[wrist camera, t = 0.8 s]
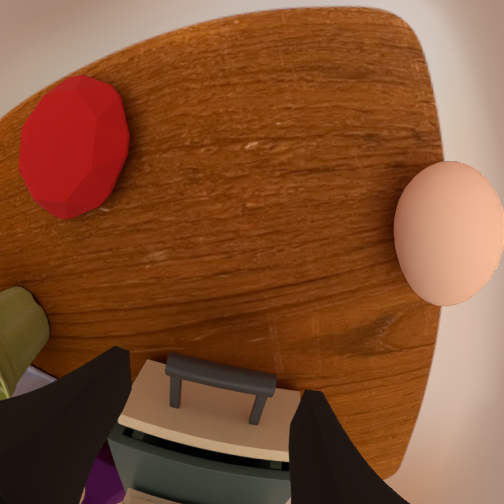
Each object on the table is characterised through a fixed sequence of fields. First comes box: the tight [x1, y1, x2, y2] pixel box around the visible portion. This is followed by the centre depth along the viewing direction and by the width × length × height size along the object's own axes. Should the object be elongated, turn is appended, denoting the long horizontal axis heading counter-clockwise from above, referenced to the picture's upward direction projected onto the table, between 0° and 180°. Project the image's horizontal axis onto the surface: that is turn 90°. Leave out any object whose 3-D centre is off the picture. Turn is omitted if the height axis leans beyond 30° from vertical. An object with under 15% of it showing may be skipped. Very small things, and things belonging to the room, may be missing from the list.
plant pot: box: [0, 286, 50, 400], centre depth 17 cm, size 9×9×9 cm
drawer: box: [118, 352, 301, 471], centre depth 18 cm, size 17×11×6 cm
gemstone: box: [19, 75, 130, 219], centre depth 15 cm, size 9×9×3 cm
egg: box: [394, 161, 504, 306], centre depth 13 cm, size 7×7×8 cm
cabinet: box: [107, 420, 291, 504], centre depth 20 cm, size 14×13×8 cm
